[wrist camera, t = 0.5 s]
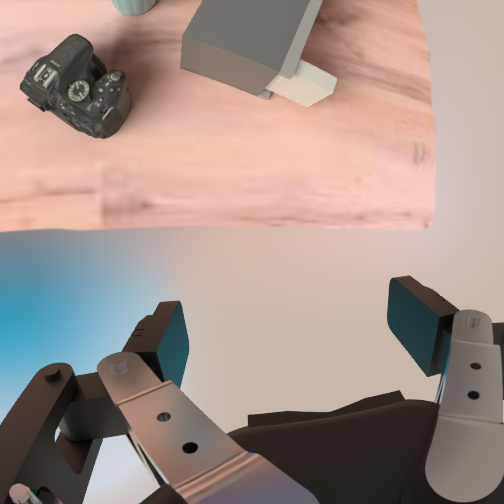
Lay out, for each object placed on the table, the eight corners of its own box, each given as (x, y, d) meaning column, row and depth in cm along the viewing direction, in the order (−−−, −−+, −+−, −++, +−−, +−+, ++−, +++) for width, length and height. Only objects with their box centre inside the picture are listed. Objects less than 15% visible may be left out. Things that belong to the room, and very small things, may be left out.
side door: (264, 88, 35) (282, 68, 28) (292, 23, 34) (312, -2, 27) (307, 107, 37) (332, 93, 30) (330, 42, 36) (356, 21, 29)
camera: (145, 68, 33) (138, 32, 23) (121, 145, 34) (103, 130, 24) (51, 58, 29) (22, 26, 19) (26, 131, 30) (-12, 116, 21)
